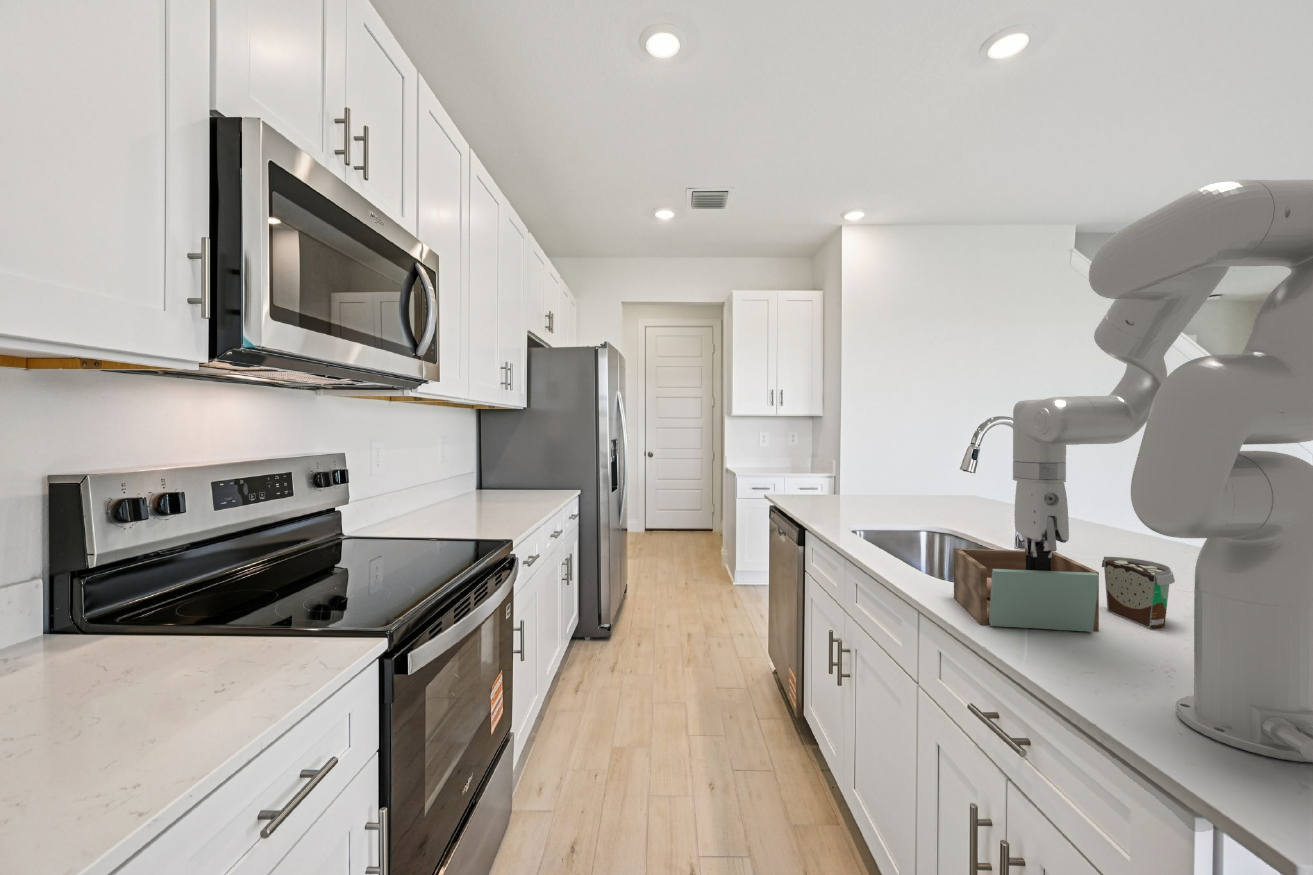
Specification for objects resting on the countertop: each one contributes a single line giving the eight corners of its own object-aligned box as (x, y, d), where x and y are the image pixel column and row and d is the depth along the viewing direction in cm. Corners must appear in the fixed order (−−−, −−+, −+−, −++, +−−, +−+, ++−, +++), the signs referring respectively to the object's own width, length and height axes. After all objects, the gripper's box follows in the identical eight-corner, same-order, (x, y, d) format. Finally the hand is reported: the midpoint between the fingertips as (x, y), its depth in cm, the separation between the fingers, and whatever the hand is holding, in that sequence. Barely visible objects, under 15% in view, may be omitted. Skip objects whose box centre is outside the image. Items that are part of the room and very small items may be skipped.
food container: (1195, 632, 95) (1195, 572, 95) (1157, 632, 95) (1157, 572, 95) (1134, 608, 107) (1134, 555, 107) (1101, 608, 107) (1101, 555, 107)
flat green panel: (1093, 631, 95) (1098, 575, 93) (990, 625, 98) (994, 571, 96) (1089, 628, 96) (1095, 572, 94) (988, 622, 99) (992, 568, 97)
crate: (1098, 631, 96) (1098, 572, 95) (980, 624, 99) (980, 567, 99) (1054, 602, 111) (1054, 551, 111) (953, 597, 115) (953, 548, 115)
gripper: (1086, 477, 89) (1085, 593, 89) (1044, 468, 103) (1043, 569, 104) (1032, 476, 90) (1031, 591, 91) (998, 468, 105) (997, 567, 106)
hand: (1037, 579), depth 97 cm, fingers closed
